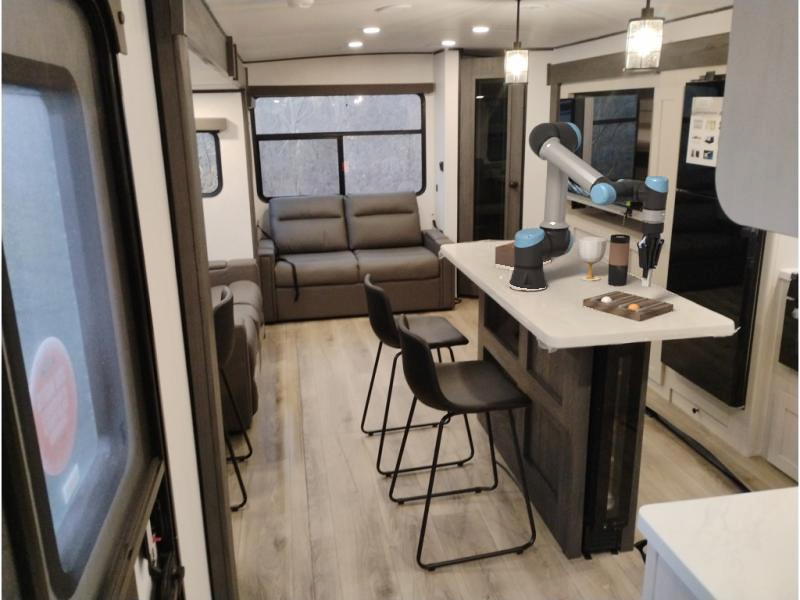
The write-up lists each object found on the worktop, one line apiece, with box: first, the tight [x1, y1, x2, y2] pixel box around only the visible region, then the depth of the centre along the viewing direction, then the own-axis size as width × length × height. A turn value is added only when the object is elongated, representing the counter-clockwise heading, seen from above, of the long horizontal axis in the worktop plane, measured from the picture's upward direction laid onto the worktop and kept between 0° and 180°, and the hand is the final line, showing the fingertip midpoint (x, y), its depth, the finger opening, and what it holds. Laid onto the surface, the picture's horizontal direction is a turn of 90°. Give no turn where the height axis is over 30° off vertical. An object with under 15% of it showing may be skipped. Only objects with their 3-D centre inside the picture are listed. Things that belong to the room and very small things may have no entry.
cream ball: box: [601, 296, 612, 303], centre depth 235 cm, size 4×4×4 cm
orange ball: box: [628, 304, 640, 311], centre depth 225 cm, size 4×4×4 cm
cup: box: [577, 236, 608, 281], centre depth 274 cm, size 12×12×17 cm
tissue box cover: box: [494, 241, 553, 267], centre depth 303 cm, size 26×14×10 cm, turn 137°
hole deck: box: [582, 290, 674, 323], centre depth 233 cm, size 24×19×3 cm
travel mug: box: [607, 233, 631, 287], centre depth 264 cm, size 8×8×20 cm
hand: (646, 286), depth 234 cm, fingers closed
